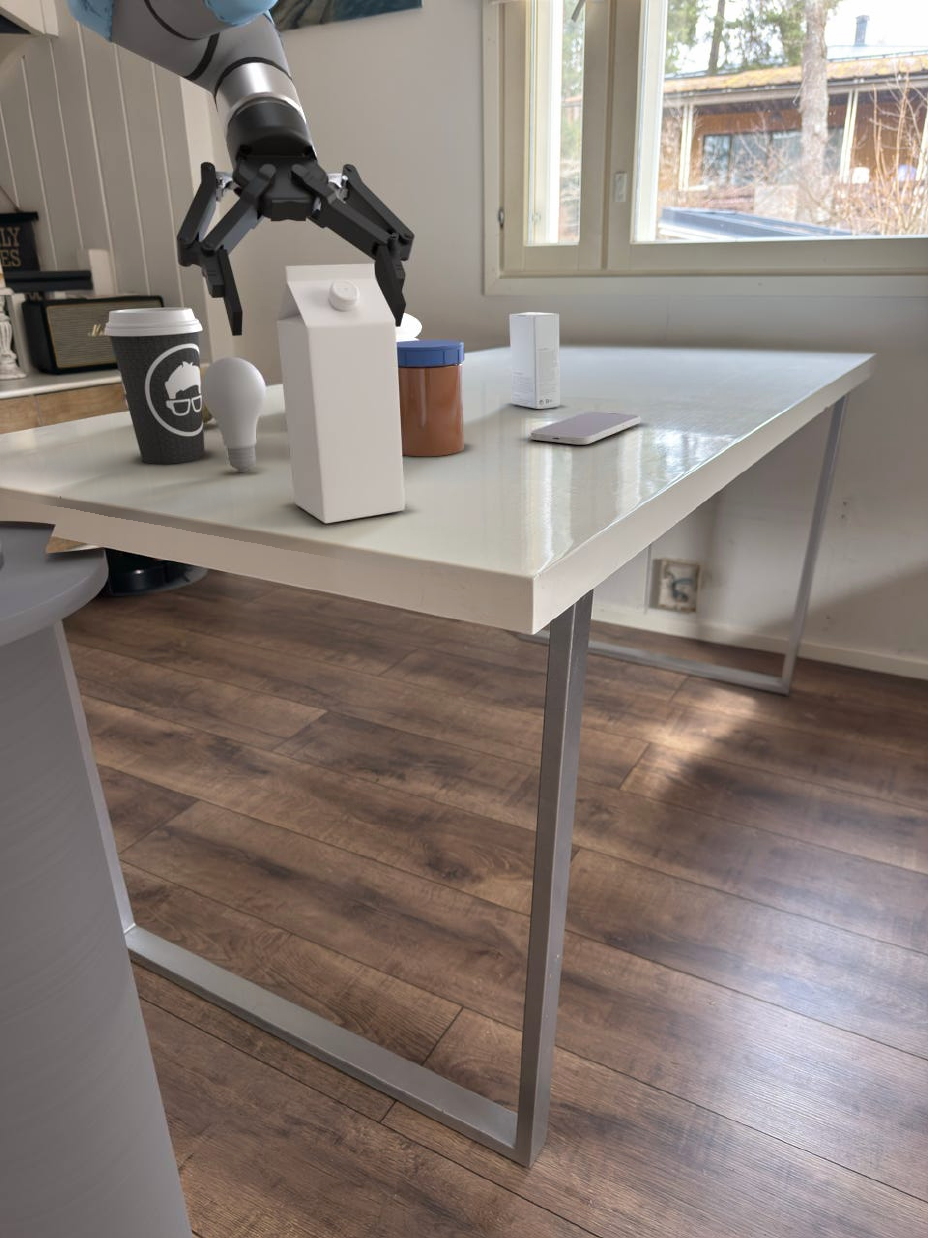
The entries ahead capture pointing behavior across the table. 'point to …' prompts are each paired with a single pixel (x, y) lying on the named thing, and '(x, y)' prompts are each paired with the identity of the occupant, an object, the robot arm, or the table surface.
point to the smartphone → (585, 427)
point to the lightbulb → (235, 406)
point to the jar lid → (429, 352)
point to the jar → (431, 410)
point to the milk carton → (341, 392)
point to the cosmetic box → (535, 359)
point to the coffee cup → (161, 380)
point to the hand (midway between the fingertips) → (321, 320)
